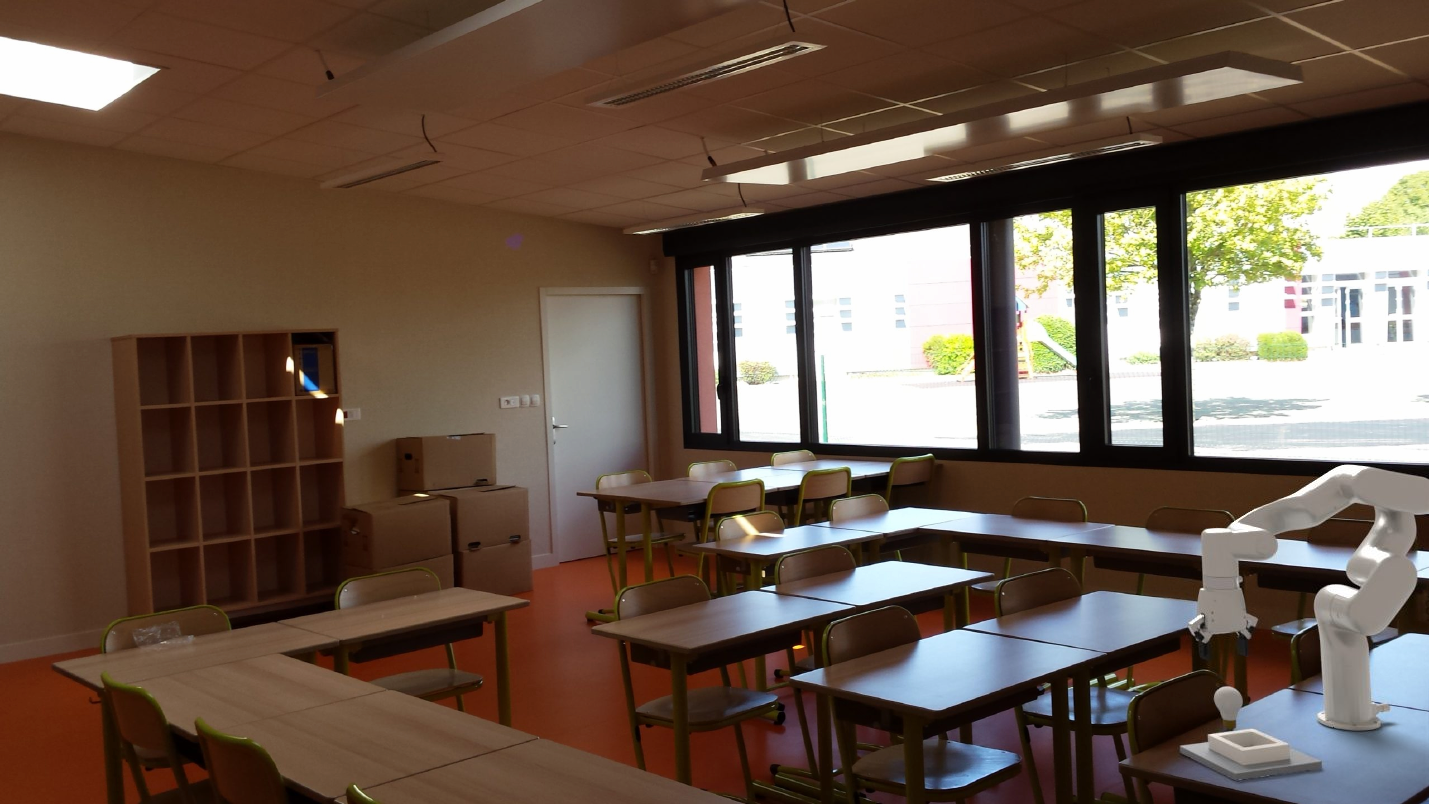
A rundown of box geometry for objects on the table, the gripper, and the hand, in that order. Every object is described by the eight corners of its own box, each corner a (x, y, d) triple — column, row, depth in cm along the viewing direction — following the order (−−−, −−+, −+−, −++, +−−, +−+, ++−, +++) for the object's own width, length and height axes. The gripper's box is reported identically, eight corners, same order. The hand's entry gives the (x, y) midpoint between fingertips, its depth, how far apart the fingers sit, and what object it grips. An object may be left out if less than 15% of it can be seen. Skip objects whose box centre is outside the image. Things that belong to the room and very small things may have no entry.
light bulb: (1247, 734, 240) (1245, 690, 240) (1219, 734, 241) (1217, 690, 241) (1240, 726, 246) (1237, 683, 246) (1212, 726, 247) (1210, 683, 247)
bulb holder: (1261, 741, 235) (1259, 721, 235) (1322, 768, 217) (1320, 746, 217) (1180, 752, 231) (1179, 732, 231) (1235, 781, 213) (1234, 758, 213)
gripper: (1243, 577, 249) (1246, 650, 249) (1177, 583, 245) (1180, 656, 245) (1265, 582, 241) (1268, 657, 241) (1197, 588, 238) (1201, 664, 238)
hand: (1224, 657), depth 243 cm, fingers open, 9 cm apart
